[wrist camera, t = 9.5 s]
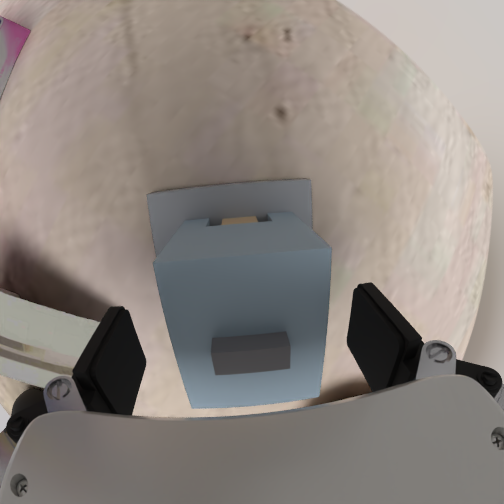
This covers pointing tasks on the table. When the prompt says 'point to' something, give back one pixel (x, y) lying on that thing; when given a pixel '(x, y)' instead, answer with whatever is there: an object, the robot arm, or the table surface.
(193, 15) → the table surface
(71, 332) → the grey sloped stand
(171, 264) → the light blue block
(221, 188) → the board
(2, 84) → the gum box
